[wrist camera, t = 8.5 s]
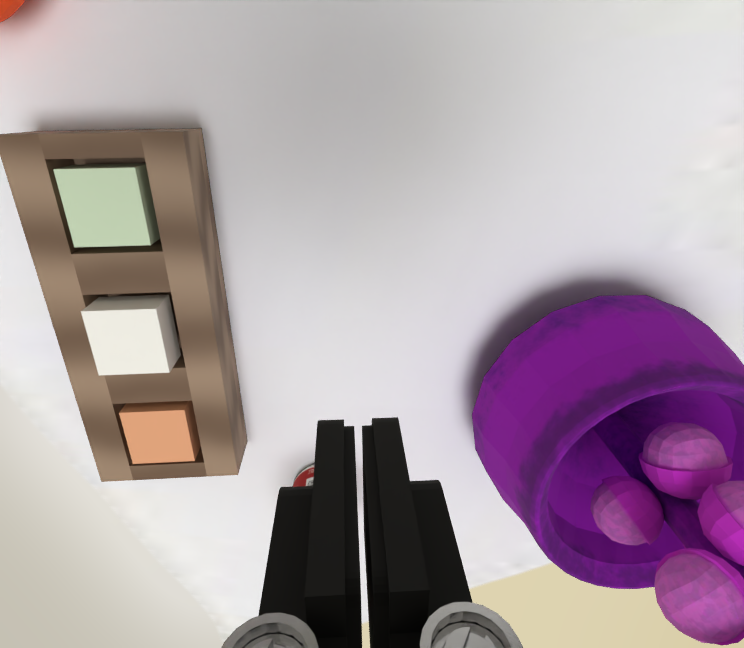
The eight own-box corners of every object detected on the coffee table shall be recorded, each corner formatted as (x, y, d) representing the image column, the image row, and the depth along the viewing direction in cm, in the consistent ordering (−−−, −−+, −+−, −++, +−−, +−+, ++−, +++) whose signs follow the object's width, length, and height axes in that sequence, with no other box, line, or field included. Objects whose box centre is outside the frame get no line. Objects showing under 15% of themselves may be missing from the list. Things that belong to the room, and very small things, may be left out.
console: (36, 131, 30) (-7, 134, 26) (201, 128, 30) (182, 131, 27) (123, 447, 40) (101, 481, 36) (247, 441, 40) (237, 474, 37)
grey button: (99, 297, 31) (80, 311, 29) (168, 294, 31) (156, 308, 29) (114, 357, 33) (98, 375, 31) (180, 355, 33) (169, 372, 31)
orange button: (132, 394, 35) (119, 412, 33) (193, 391, 36) (184, 410, 33) (145, 442, 37) (132, 464, 35) (203, 440, 37) (194, 461, 35)
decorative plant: (535, 507, 45) (835, 1124, 18) (415, 378, 39) (595, 1034, 11) (724, 392, 41) (1490, 965, 14) (624, 225, 35) (1703, 681, 7)
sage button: (74, 164, 29) (53, 169, 27) (150, 163, 29) (135, 167, 27) (93, 237, 31) (74, 247, 29) (164, 235, 31) (150, 245, 29)
